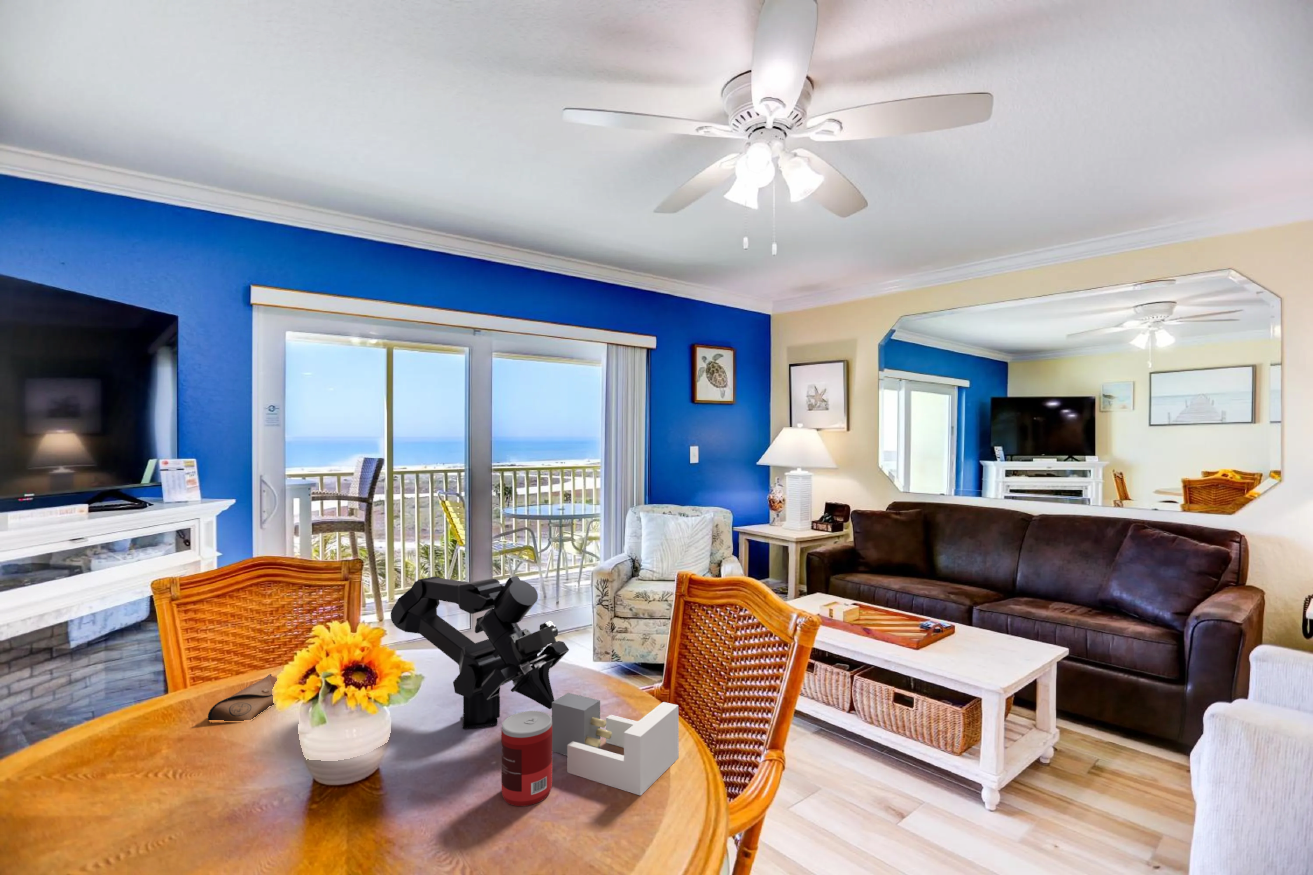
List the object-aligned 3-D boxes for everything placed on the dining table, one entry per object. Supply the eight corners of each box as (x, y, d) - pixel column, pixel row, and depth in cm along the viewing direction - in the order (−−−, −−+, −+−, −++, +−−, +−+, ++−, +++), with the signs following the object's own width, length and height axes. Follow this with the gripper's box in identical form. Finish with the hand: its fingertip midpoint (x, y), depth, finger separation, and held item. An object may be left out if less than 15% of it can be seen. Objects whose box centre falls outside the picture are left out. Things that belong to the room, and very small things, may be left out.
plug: (551, 750, 107) (551, 702, 107) (568, 739, 111) (568, 692, 111) (596, 764, 102) (596, 713, 103) (612, 751, 107) (611, 702, 107)
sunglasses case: (249, 722, 118) (232, 693, 119) (219, 741, 119) (202, 711, 119) (304, 686, 136) (289, 661, 137) (278, 703, 136) (263, 677, 137)
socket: (567, 772, 100) (567, 717, 100) (610, 739, 112) (610, 689, 112) (640, 795, 94) (640, 736, 94) (678, 757, 105) (678, 705, 105)
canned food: (557, 779, 98) (557, 711, 98) (543, 808, 90) (543, 734, 90) (511, 777, 99) (511, 709, 99) (493, 806, 91) (493, 732, 91)
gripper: (493, 623, 105) (544, 700, 99) (561, 599, 121) (607, 664, 115) (460, 661, 108) (507, 738, 103) (530, 633, 125) (574, 698, 119)
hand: (552, 707), depth 110 cm, fingers closed
